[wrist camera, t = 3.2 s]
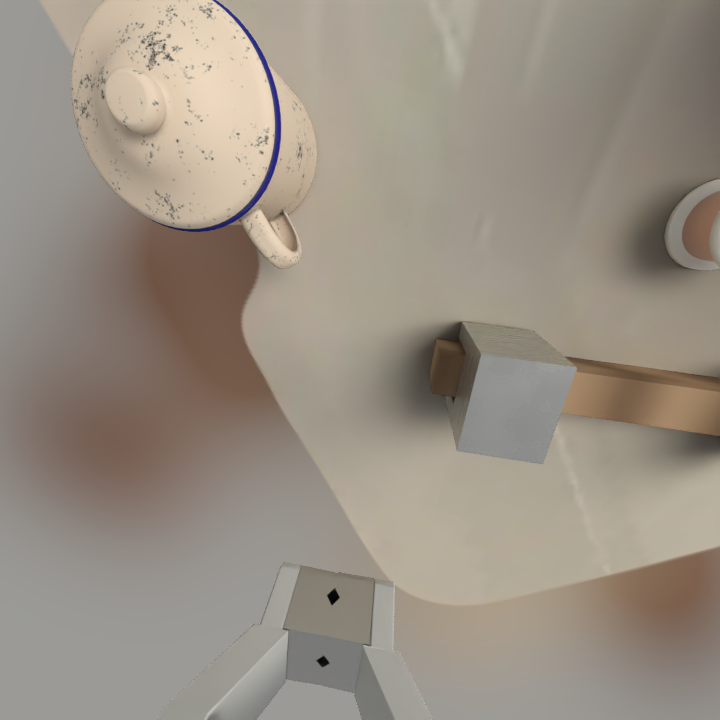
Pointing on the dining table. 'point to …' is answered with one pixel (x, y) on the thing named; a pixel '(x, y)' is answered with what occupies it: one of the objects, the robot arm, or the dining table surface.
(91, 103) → the teacup with lid
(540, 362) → the block
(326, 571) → the robot arm
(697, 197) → the white rounded knob
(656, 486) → the dining table surface
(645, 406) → the rail
